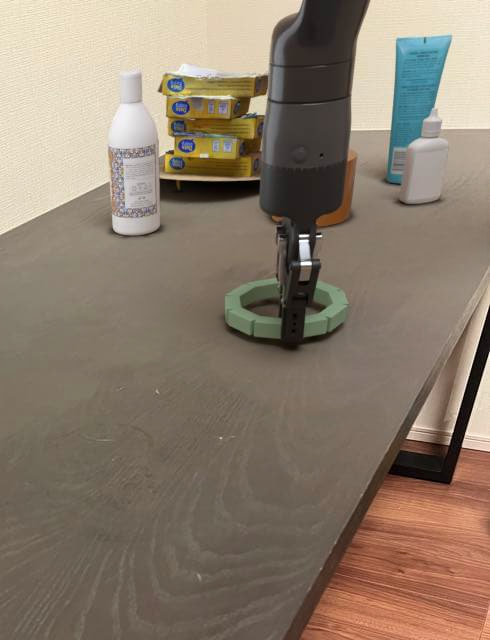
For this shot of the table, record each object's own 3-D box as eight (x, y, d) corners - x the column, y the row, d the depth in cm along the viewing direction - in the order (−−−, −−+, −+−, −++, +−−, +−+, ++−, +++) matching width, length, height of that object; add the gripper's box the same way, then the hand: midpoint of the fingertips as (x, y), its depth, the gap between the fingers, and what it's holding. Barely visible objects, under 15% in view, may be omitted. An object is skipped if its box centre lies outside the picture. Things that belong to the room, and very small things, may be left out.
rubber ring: (334, 288, 90) (336, 274, 89) (354, 337, 79) (357, 322, 78) (222, 293, 91) (222, 280, 90) (228, 342, 81) (228, 327, 80)
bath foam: (120, 221, 118) (112, 68, 106) (165, 221, 116) (162, 66, 104) (107, 236, 113) (97, 77, 101) (153, 237, 111) (149, 75, 99)
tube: (422, 174, 125) (447, 31, 113) (430, 183, 121) (457, 36, 109) (374, 177, 126) (393, 36, 114) (380, 186, 122) (401, 40, 110)
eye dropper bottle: (440, 205, 112) (458, 111, 105) (398, 204, 114) (413, 112, 107) (439, 196, 116) (456, 104, 108) (398, 196, 117) (412, 105, 110)
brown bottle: (342, 201, 117) (354, 103, 109) (356, 224, 109) (370, 120, 101) (267, 206, 119) (273, 109, 110) (275, 229, 110) (282, 126, 102)
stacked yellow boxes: (180, 159, 144) (180, 54, 134) (309, 170, 132) (319, 54, 122) (104, 196, 130) (97, 80, 119) (240, 212, 117) (245, 84, 107)
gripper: (362, 169, 64) (338, 364, 75) (335, 132, 75) (317, 307, 86) (269, 176, 65) (258, 367, 76) (255, 138, 76) (247, 310, 87)
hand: (290, 334), depth 81 cm, fingers closed on rubber ring, 2 cm apart
